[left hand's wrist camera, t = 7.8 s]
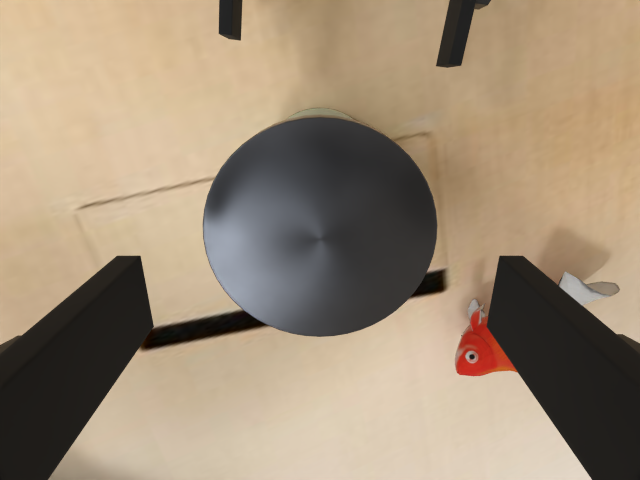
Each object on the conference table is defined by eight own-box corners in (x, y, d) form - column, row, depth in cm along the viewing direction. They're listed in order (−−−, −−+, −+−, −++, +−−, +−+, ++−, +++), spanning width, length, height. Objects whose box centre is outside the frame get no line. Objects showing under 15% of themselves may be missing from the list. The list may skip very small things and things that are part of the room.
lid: (172, 168, 18) (157, 176, 16) (387, 74, 17) (394, 73, 15) (268, 342, 22) (264, 363, 20) (452, 278, 20) (463, 294, 19)
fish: (440, 269, 32) (543, 368, 25) (569, 218, 37) (683, 288, 30) (417, 346, 38) (493, 441, 32) (529, 294, 44) (614, 365, 37)
